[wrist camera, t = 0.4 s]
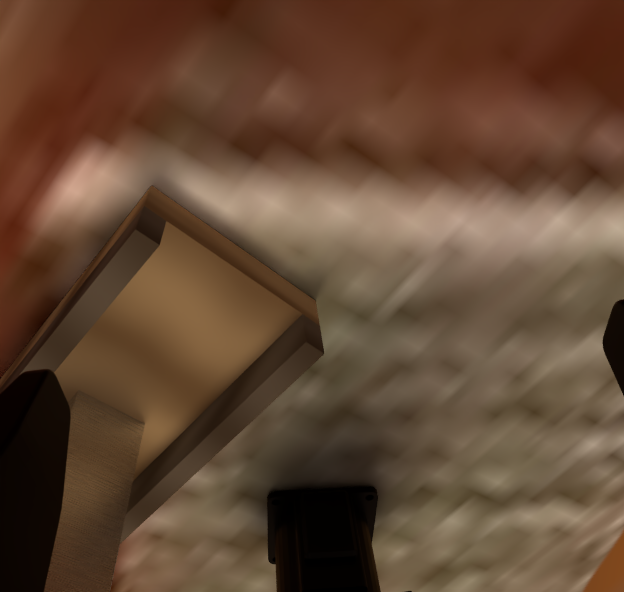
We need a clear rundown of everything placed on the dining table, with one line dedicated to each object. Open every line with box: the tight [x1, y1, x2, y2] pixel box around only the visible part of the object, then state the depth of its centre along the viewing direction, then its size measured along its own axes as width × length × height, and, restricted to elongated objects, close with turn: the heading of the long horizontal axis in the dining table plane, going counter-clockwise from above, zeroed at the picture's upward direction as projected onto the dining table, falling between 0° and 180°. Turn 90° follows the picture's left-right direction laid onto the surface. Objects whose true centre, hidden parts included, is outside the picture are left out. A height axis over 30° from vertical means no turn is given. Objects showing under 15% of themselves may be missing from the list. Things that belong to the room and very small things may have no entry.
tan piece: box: [0, 186, 324, 543], centre depth 29 cm, size 24×9×4 cm, turn 138°
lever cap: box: [44, 390, 145, 592], centre depth 24 cm, size 4×5×10 cm
